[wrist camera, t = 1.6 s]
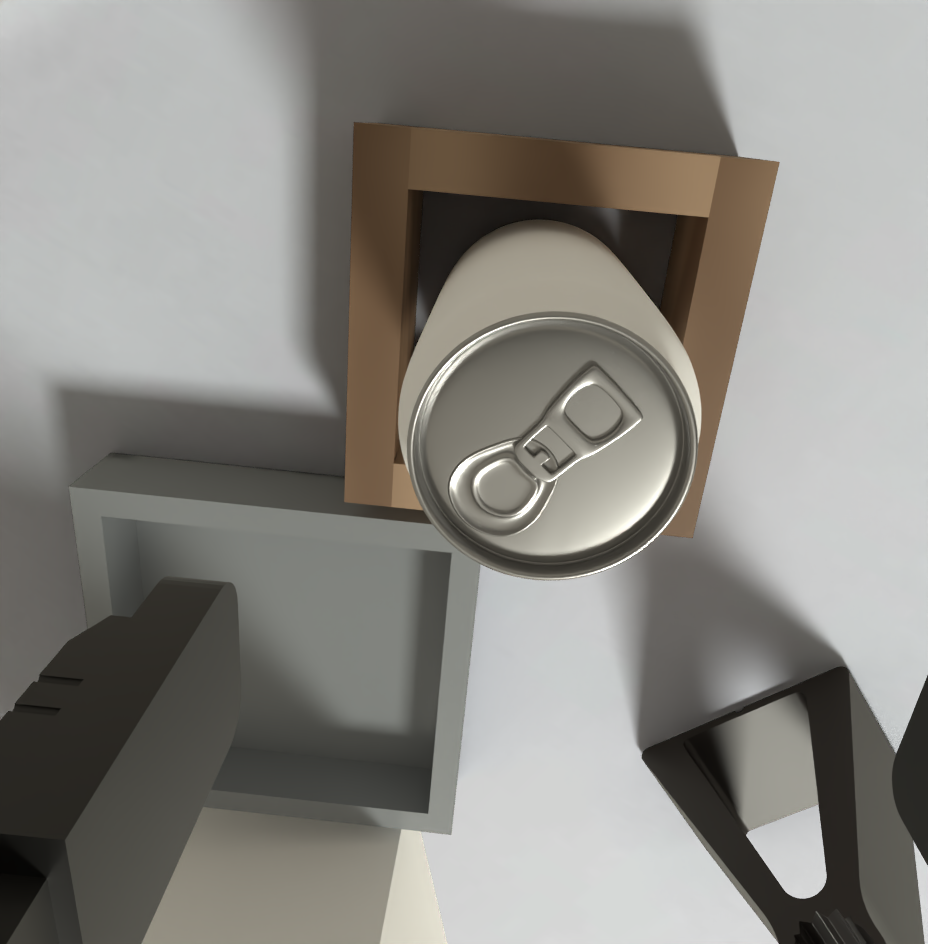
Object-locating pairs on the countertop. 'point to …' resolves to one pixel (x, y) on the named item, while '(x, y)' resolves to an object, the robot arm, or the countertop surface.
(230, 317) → the countertop surface
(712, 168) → the socket block
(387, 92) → the countertop surface
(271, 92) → the countertop surface
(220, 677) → the robot arm
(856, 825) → the phone stand
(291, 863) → the milk
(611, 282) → the can
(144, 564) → the tray
